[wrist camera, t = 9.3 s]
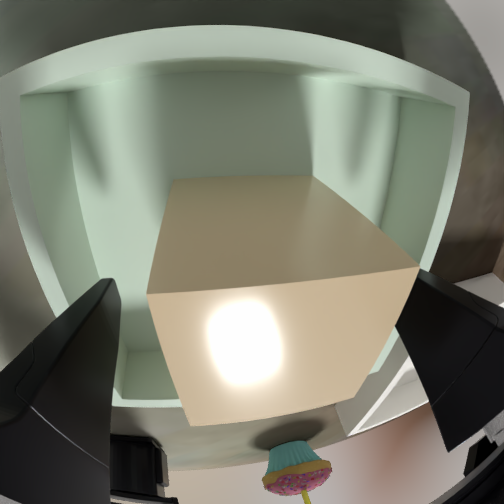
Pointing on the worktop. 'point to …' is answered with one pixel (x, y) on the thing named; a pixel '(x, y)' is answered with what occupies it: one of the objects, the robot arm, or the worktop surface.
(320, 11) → the worktop surface
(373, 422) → the bin
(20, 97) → the bin
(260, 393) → the beige plain cubic block
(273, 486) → the cupcake
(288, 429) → the worktop surface
